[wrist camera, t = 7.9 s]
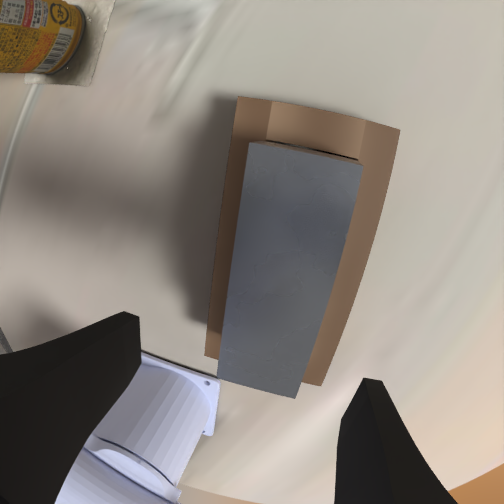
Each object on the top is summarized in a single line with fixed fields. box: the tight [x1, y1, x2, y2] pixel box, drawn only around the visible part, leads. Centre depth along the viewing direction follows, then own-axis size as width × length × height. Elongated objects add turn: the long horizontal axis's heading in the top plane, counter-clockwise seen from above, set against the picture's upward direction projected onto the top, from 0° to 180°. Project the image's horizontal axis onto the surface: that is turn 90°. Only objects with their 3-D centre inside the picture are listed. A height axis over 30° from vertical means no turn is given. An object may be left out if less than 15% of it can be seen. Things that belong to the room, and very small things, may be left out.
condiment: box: [0, 0, 115, 86], centre depth 11 cm, size 7×8×12 cm
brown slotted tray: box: [204, 96, 400, 386], centre depth 17 cm, size 7×15×3 cm, turn 171°
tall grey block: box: [216, 141, 363, 399], centre depth 16 cm, size 4×11×6 cm, turn 171°
